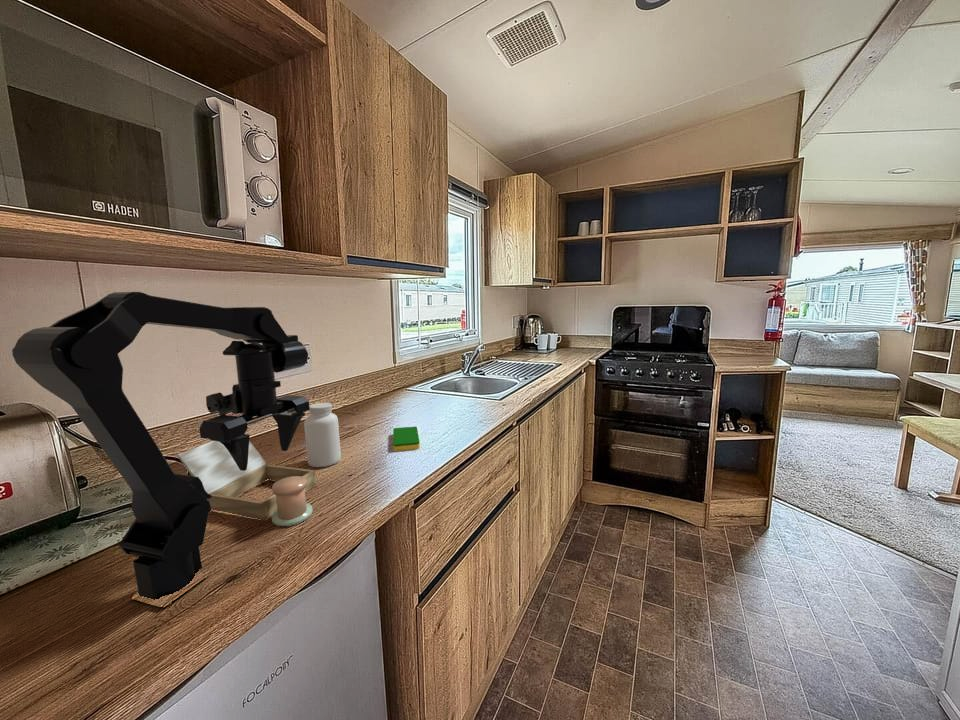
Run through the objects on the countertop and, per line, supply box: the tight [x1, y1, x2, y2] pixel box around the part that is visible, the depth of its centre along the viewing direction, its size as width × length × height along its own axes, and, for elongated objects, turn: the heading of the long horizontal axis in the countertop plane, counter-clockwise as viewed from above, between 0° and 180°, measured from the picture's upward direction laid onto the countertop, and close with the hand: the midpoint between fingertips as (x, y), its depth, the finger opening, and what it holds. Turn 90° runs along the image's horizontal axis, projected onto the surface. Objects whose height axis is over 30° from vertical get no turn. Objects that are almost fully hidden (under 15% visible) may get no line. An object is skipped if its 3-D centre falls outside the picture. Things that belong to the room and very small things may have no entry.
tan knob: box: [271, 476, 307, 520], centre depth 73 cm, size 6×6×6 cm
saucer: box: [271, 502, 314, 527], centre depth 73 cm, size 7×7×1 cm
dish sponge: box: [392, 426, 421, 452], centre depth 111 cm, size 7×14×2 cm, turn 13°
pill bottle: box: [303, 402, 342, 468], centre depth 97 cm, size 8×8×15 cm
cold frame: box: [176, 440, 317, 521], centre depth 80 cm, size 14×20×11 cm
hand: (265, 459), depth 71 cm, fingers open, 9 cm apart
